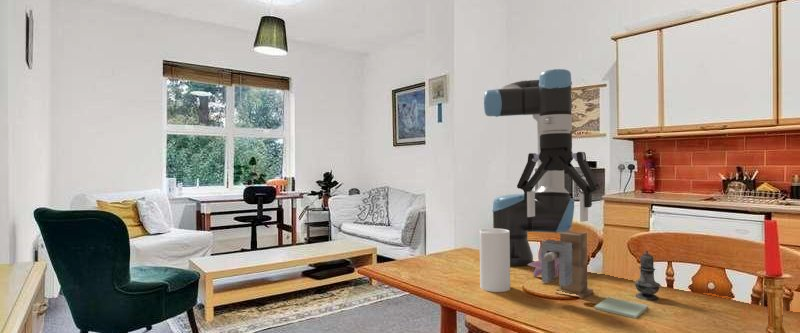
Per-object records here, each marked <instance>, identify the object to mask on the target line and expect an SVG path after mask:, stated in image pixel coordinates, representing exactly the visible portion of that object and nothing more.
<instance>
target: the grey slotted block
mask: <svg viewBox="0 0 800 333" xmlns="http://www.w3.org/2000/svg"><path fill="white" fill-rule="evenodd" d="M540 243H541V249H542V274H541V282H542V283H547V284H548V283H550V282H553V280H554V281H555V279H556V277H555V260H553V261H550V262H547V261H546V260H545V259H544V255H545V254H547V253H549V252H559V268H558V278H559V279H558V284H559V285H558V286H560V287H561V286H567V285H569V284H571V283H572V243H570V242H563V241H560V240H554V239H547V240H542V241H541V242H540Z"/></svg>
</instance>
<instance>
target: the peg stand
mask: <svg viewBox="0 0 800 333" xmlns="http://www.w3.org/2000/svg"><path fill="white" fill-rule="evenodd" d="M559 234H560V235H559V236H560V237H559V238H560V240H559V241H563V242H570V243H572V283H571V284H569V285H567V286H561V285H560V287H558V288H555V289H554V290H557V291H562V292H565V293H569V294H576V295H579V296H580V297H579V298H578V299H579V300H583V299H584V298H586V297H588V296H590V295H591V294H593V292H594V288H589V287H588V233H587V232H584V231H583V232H582V231H573V230H570V231H566V232H563V233H559ZM558 258H559V252H549V253H547V254H545V255H544V259H545V260H546V261H547V262H550V261H553V260H555V259H558Z"/></svg>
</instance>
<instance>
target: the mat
mask: <svg viewBox="0 0 800 333" xmlns="http://www.w3.org/2000/svg"><path fill="white" fill-rule="evenodd" d="M593 308H594V310H599V311H603V312H605V313H610V314H611V313H612V314H616V315H620V316H625V317H628V318H632V319H637V318H639V316H640V315H641V314H643V313H644V312H646V310H648V309H649V305H647V304H642V303H637V302H633V301H628V300H625V299H618V298H614V297H609V296H608V297H607V298H604V299H603V300H601V301H600V302H599V303H598V304H595V305H594V307H593Z"/></svg>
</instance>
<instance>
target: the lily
mask: <svg viewBox="0 0 800 333" xmlns="http://www.w3.org/2000/svg"><path fill="white" fill-rule="evenodd" d="M537 256H538V258H537V259H538V260H536V261H533V262H532V263H529V264H527V265H526V266H530V267H533V268H535V269H534V272H533V274H532V276H533V277H538V276H540V275H542V248H539V249H538V252H537ZM558 277H559V258H558V259H555V278H558ZM552 282H554V283H555V280H553V281H552Z"/></svg>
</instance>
